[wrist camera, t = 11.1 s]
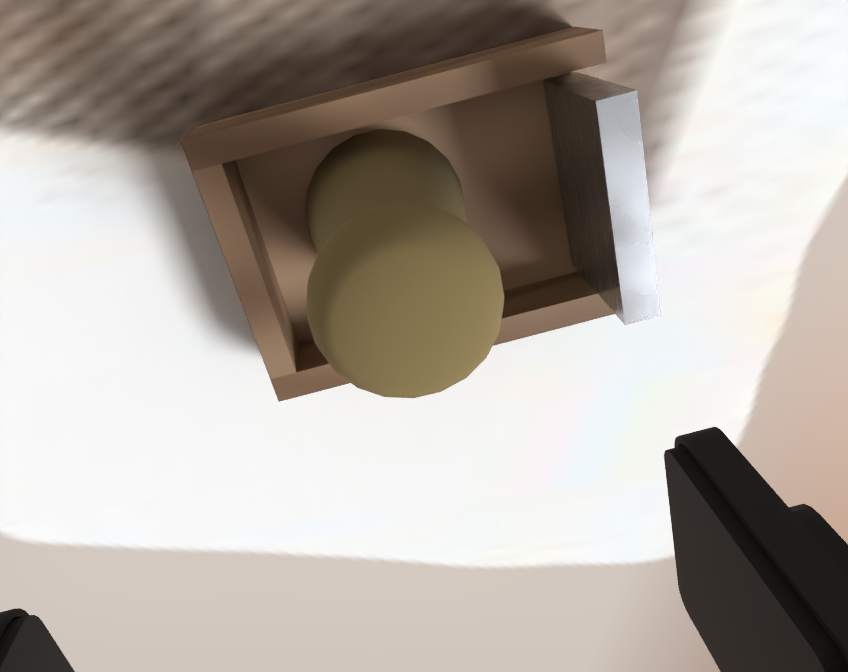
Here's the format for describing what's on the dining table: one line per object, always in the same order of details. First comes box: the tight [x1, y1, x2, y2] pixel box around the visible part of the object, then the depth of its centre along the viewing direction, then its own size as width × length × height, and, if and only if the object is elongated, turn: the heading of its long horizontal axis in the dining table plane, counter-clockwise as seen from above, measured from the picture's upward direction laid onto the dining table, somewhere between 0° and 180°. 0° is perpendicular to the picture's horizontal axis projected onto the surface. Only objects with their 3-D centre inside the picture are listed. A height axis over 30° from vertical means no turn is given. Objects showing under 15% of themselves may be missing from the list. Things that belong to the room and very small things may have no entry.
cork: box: [306, 129, 504, 398], centre depth 23 cm, size 6×6×11 cm
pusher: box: [543, 72, 661, 325], centre depth 25 cm, size 7×1×6 cm, turn 13°
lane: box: [181, 27, 615, 401], centre depth 27 cm, size 10×14×3 cm
